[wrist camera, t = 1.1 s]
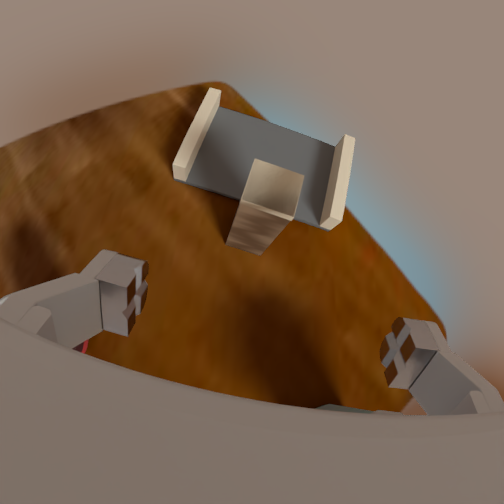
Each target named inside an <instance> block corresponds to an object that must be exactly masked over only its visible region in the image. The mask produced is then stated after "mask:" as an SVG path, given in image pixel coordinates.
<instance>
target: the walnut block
mask: <svg viewBox="0 0 504 504" xmlns="http://www.w3.org/2000/svg"><path fill="white" fill-rule="evenodd" d="M303 180H304V175H301V174H298V173H296V172H293V171H290V170H287V169H285V168H282V167H279V166H276V165H273V164H270V163H267V162H264V161H261V160H258V159H254V162H253V165H252V168H251V171H250V174H249V177H248V180H247V183H246V186H245V188H244V191H243V194H242V197H241V200H240V202H239V205H238V208H237V211H236V214H235V217H234V220H233V223H232V226H231V229H230V232H229V235H228V238H227V241H226V244H225V245H228V246H231V247H234V248H238V249H241V250H244V251H247V252H250V253H253V254H256V255H259V256H260V255H261V254H262V253H263V252H264V251H265V250H266V248H267V247H268V246H269V245H270V244H271V243H272V241H273V240H274V239H275V238H276V237H277V236H278V235H279V233H280V232H281V231H282V230H283V229H284V228H285V226H286V225H287V224H288V223H289V222H290V221H292V219H293V218H294V216H295V212H296V208H297V204H298V200H299V196H300V192H301V188H302V184H303Z"/></svg>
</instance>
